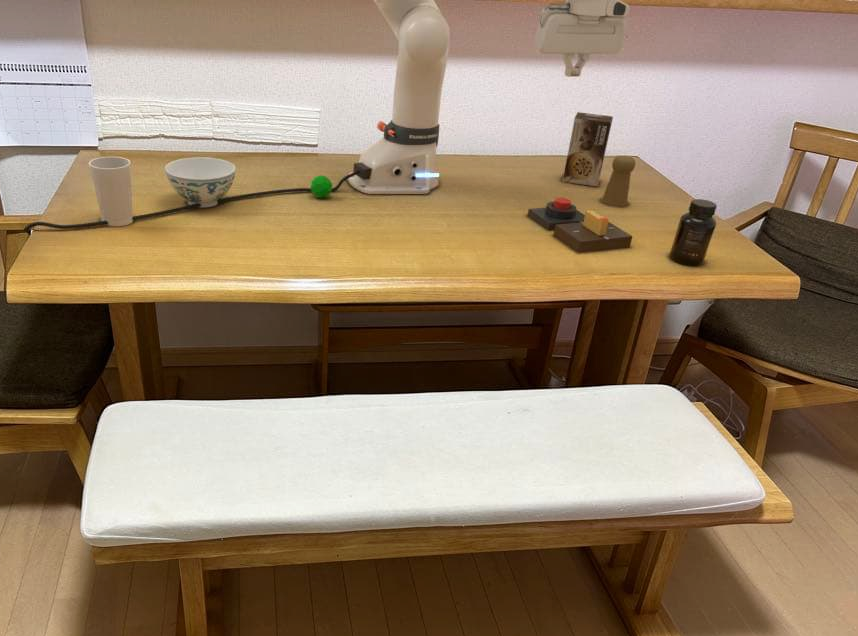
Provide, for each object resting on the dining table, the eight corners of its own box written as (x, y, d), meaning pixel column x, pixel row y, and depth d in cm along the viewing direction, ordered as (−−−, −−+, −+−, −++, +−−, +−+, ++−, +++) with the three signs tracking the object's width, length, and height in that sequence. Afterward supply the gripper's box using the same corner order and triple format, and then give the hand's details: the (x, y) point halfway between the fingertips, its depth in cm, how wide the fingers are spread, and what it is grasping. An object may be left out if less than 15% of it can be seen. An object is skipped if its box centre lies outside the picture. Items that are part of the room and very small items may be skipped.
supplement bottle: (710, 262, 155) (729, 206, 148) (689, 268, 152) (707, 211, 145) (683, 250, 160) (700, 195, 153) (661, 256, 156) (678, 199, 149)
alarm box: (548, 230, 165) (551, 215, 163) (527, 216, 172) (529, 201, 170) (590, 226, 168) (593, 211, 166) (568, 212, 175) (571, 197, 173)
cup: (101, 229, 152) (93, 170, 145) (93, 216, 157) (85, 158, 150) (141, 224, 155) (134, 166, 148) (132, 211, 160) (125, 154, 154)
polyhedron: (314, 201, 172) (314, 180, 169) (307, 194, 175) (307, 173, 173) (334, 199, 173) (335, 179, 171) (327, 192, 177) (328, 172, 174)
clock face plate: (578, 253, 155) (581, 241, 153) (552, 235, 163) (554, 223, 161) (630, 248, 159) (633, 236, 158) (602, 230, 167) (605, 218, 165)
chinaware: (250, 204, 168) (249, 169, 164) (195, 219, 159) (192, 183, 154) (209, 186, 176) (207, 153, 172) (154, 200, 167) (151, 165, 162)
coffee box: (599, 180, 196) (614, 116, 187) (597, 187, 191) (612, 122, 182) (564, 174, 199) (577, 111, 189) (561, 181, 194) (574, 116, 184)
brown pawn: (627, 208, 180) (640, 161, 173) (602, 205, 181) (613, 158, 174) (625, 199, 185) (637, 154, 178) (600, 196, 185) (611, 151, 179)
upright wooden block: (582, 225, 161) (586, 209, 160) (588, 224, 162) (592, 209, 160) (598, 235, 157) (602, 220, 155) (605, 235, 157) (609, 219, 155)
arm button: (558, 211, 166) (560, 203, 165) (550, 205, 169) (551, 198, 168) (572, 210, 167) (574, 202, 166) (563, 204, 170) (565, 197, 169)
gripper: (551, 5, 148) (538, 79, 156) (636, 7, 155) (619, 78, 163) (535, 0, 153) (522, 73, 161) (618, 2, 160) (602, 72, 167)
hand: (572, 76), depth 162 cm, fingers closed
